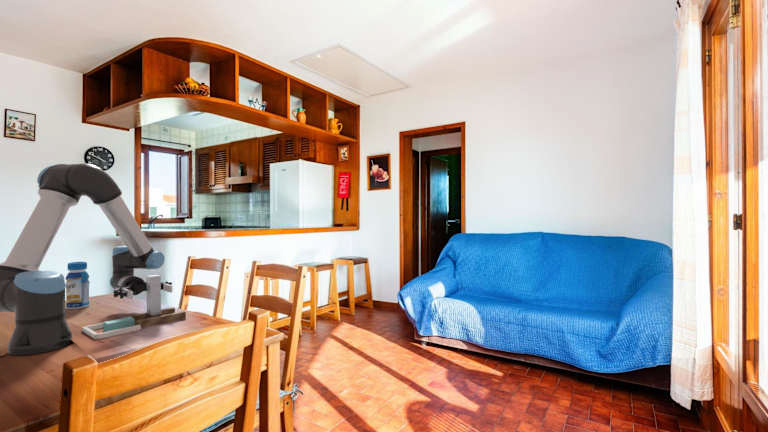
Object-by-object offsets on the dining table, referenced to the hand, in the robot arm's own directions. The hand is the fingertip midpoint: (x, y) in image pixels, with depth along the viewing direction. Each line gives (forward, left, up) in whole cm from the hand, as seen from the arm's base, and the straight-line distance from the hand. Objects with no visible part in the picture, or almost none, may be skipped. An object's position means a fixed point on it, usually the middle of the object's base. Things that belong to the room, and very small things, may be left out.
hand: (152, 292), depth 143 cm
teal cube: (-14, -3, -12) cm, 18 cm away
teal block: (-10, -3, -12) cm, 15 cm away
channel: (0, -3, -12) cm, 12 cm away
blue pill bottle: (-10, +54, -12) cm, 57 cm away
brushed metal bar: (-1, -3, -10) cm, 11 cm away
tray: (-14, -3, -12) cm, 19 cm away
